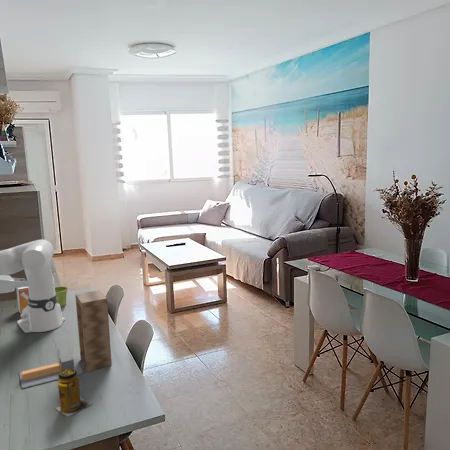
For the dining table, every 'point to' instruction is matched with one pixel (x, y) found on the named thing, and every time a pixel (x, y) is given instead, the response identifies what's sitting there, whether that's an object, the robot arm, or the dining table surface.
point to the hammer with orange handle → (49, 368)
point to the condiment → (70, 393)
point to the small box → (22, 298)
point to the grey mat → (46, 377)
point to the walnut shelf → (93, 329)
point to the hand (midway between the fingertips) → (27, 282)
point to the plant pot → (61, 295)
